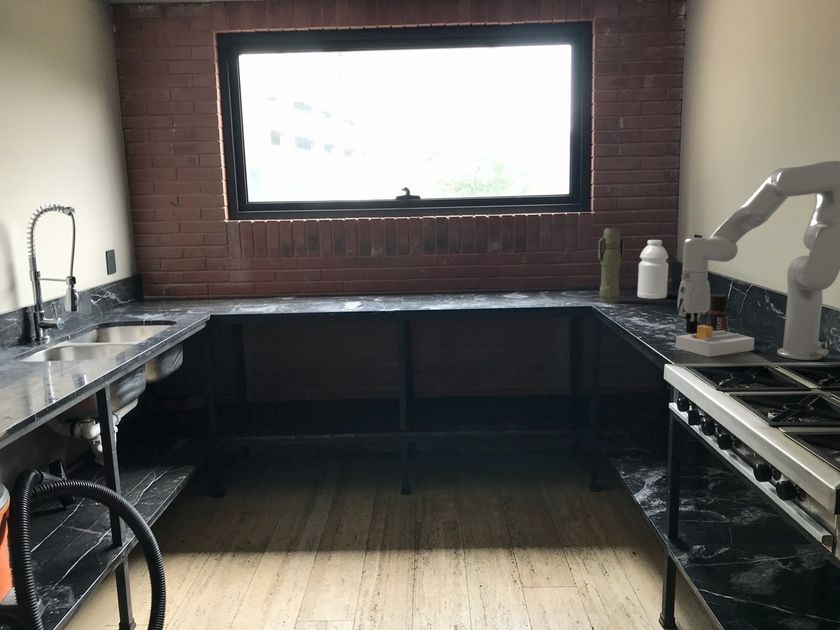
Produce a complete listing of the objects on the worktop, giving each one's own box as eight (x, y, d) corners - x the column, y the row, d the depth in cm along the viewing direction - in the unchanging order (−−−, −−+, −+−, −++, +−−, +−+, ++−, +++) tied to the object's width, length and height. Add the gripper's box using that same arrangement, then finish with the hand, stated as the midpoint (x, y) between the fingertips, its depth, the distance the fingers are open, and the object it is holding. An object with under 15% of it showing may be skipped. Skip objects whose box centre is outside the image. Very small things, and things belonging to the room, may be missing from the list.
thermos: (593, 300, 325) (595, 227, 318) (615, 299, 327) (618, 227, 321) (602, 303, 316) (605, 228, 310) (624, 302, 319) (628, 227, 313)
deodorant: (714, 338, 240) (716, 296, 237) (702, 335, 246) (705, 294, 243) (728, 337, 242) (731, 296, 239) (716, 334, 247) (719, 293, 245)
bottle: (633, 294, 342) (636, 239, 337) (661, 294, 341) (664, 239, 336) (641, 299, 328) (644, 241, 323) (670, 299, 328) (673, 241, 323)
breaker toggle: (712, 339, 221) (712, 327, 220) (705, 340, 219) (706, 327, 219) (702, 336, 224) (703, 324, 223) (695, 337, 223) (696, 325, 222)
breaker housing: (753, 350, 222) (754, 335, 222) (708, 356, 214) (709, 341, 213) (719, 341, 235) (719, 327, 234) (675, 347, 227) (676, 333, 226)
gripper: (686, 279, 209) (683, 337, 213) (721, 276, 215) (717, 332, 219) (668, 277, 216) (665, 333, 219) (702, 274, 222) (699, 328, 225)
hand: (691, 332), depth 219 cm, fingers closed
